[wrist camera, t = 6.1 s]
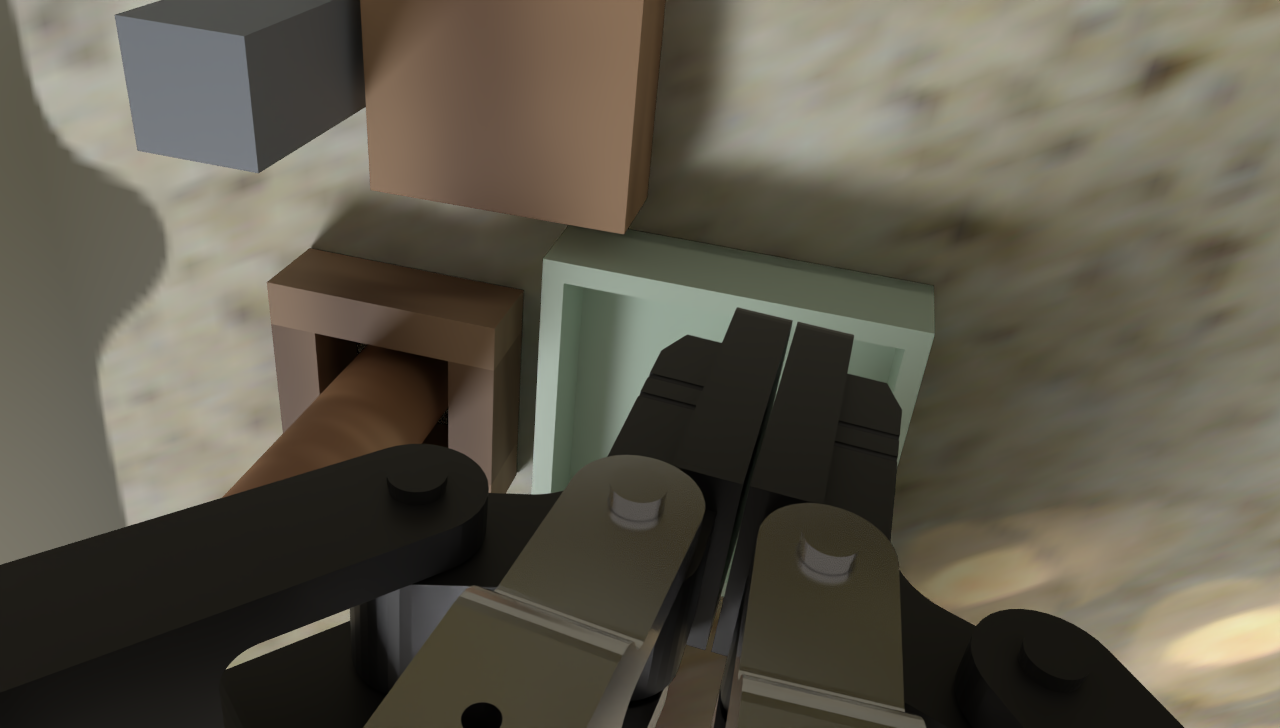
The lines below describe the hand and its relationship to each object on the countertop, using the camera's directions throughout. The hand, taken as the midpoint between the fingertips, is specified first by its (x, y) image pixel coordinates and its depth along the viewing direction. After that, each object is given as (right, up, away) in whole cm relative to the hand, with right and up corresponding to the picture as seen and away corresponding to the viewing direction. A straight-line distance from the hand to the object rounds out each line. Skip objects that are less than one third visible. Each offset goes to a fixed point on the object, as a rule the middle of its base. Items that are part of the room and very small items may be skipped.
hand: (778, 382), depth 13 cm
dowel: (-9, 0, +20) cm, 22 cm away
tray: (+1, -1, +18) cm, 18 cm away
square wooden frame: (-9, 0, +20) cm, 22 cm away
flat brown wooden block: (-5, +9, +15) cm, 18 cm away
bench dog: (-10, +9, +15) cm, 20 cm away
